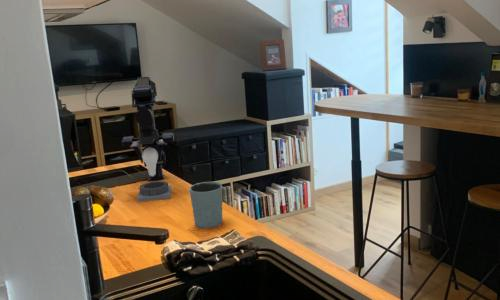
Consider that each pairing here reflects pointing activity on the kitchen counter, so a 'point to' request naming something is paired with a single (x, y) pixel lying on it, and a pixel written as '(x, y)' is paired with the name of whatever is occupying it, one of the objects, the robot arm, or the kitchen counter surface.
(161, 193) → the bulb holder
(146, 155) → the lightbulb
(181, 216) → the kitchen counter surface
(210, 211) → the blue-grey cup
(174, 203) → the kitchen counter surface
